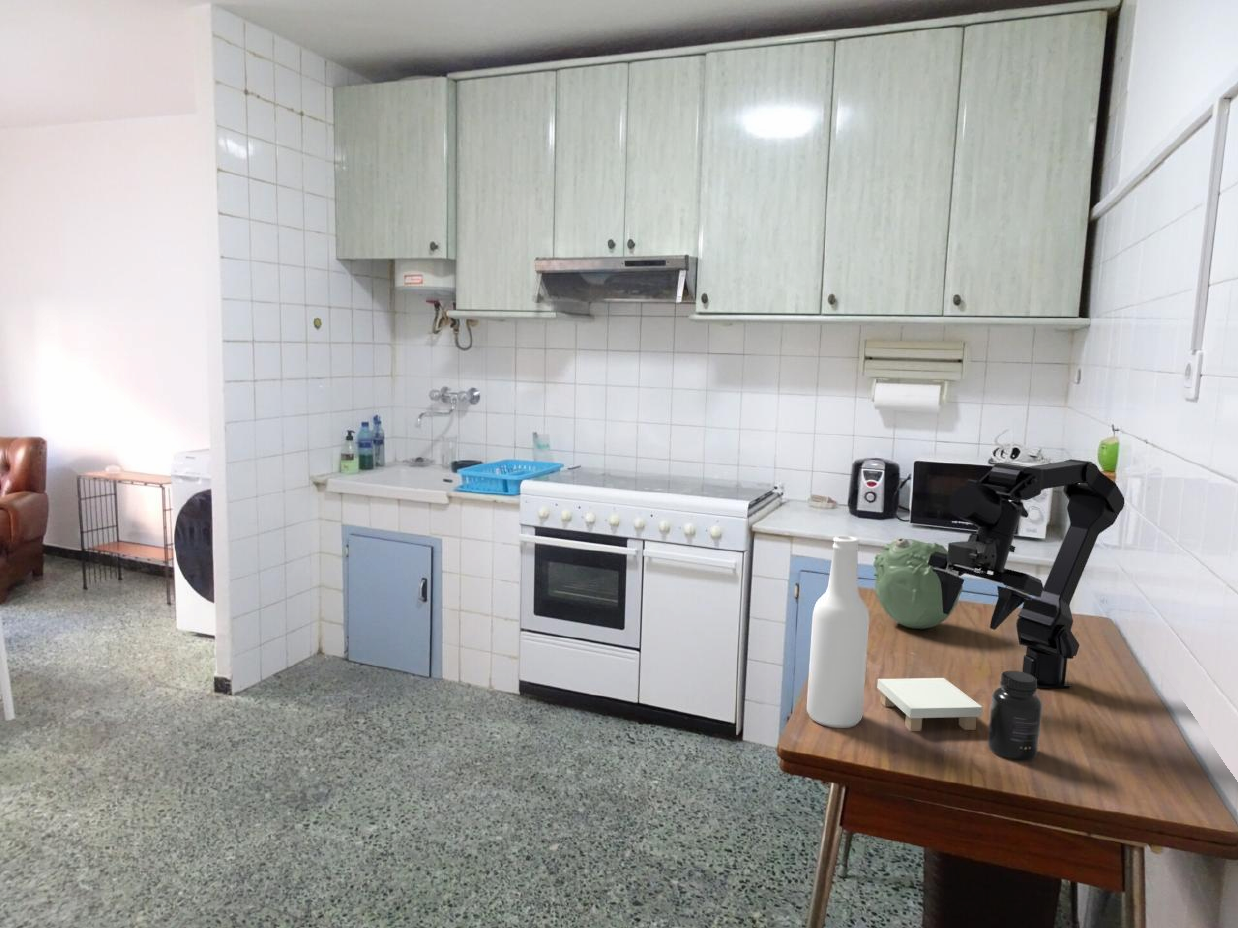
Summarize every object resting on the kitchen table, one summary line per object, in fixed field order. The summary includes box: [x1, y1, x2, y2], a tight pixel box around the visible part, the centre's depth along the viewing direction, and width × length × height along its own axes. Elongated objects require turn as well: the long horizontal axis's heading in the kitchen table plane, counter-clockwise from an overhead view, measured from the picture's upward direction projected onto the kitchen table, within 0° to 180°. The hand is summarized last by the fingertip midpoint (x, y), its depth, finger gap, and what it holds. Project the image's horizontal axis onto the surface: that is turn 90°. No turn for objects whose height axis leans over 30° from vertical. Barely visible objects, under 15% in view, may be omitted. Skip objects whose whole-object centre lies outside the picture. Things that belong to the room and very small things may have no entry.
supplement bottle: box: [987, 670, 1043, 762], centre depth 123 cm, size 7×7×12 cm
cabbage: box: [872, 538, 964, 630], centre depth 181 cm, size 16×19×20 cm
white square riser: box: [876, 677, 983, 732], centre depth 136 cm, size 12×12×4 cm
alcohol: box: [806, 535, 870, 729], centre depth 132 cm, size 9×9×30 cm
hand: (968, 621), depth 139 cm, fingers open, 9 cm apart
